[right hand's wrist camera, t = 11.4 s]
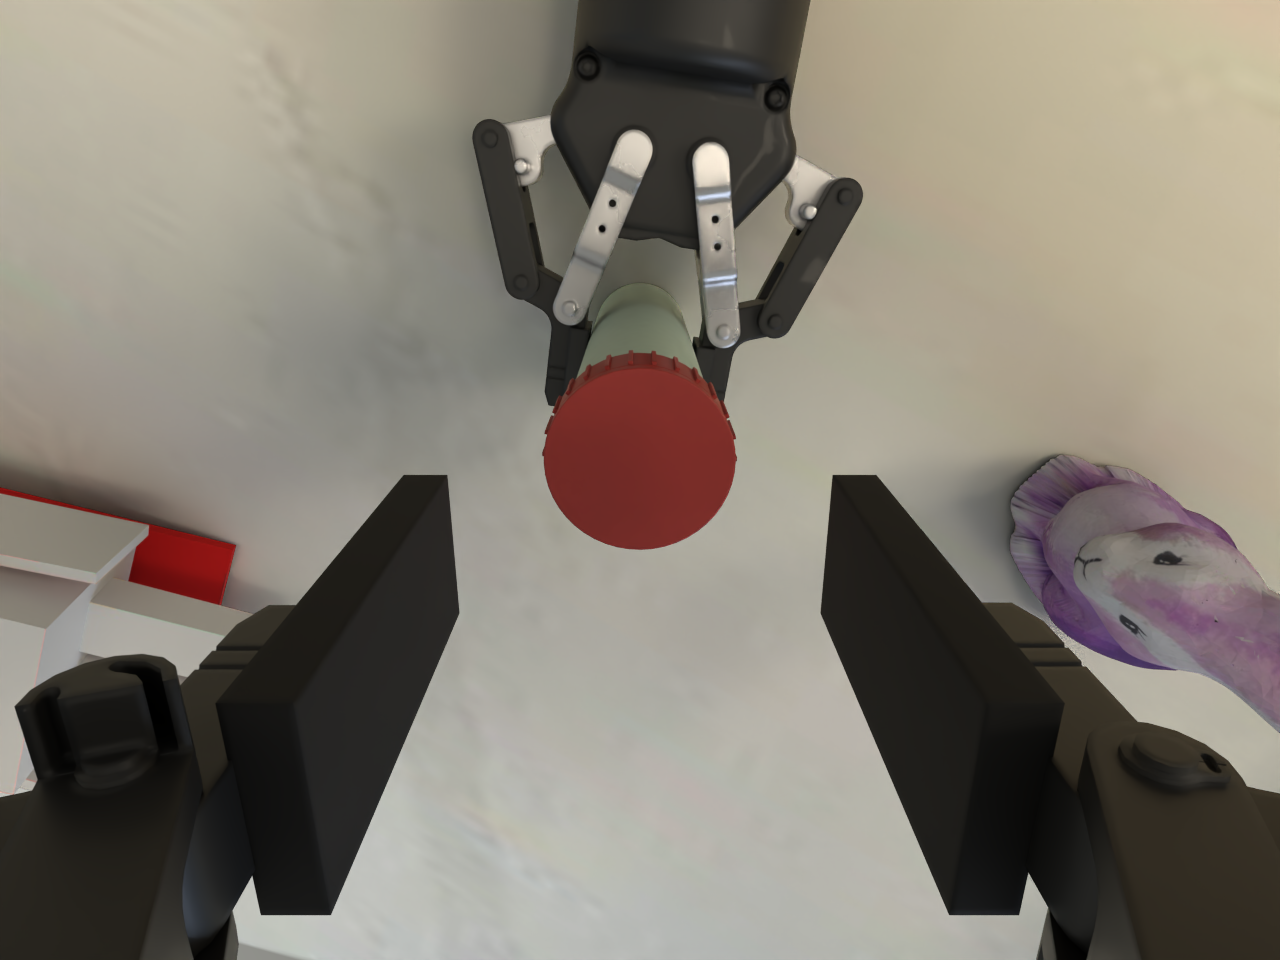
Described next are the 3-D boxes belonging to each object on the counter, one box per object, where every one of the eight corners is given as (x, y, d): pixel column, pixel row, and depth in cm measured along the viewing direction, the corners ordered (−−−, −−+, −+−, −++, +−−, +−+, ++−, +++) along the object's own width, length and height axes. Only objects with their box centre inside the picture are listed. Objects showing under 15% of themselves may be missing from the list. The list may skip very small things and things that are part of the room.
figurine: (984, 451, 38) (1184, 603, 24) (1199, 440, 38) (1524, 586, 24) (967, 622, 42) (1135, 844, 28) (1165, 613, 42) (1435, 831, 27)
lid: (672, 551, 21) (675, 584, 20) (517, 471, 21) (506, 498, 19) (765, 405, 20) (777, 426, 18) (602, 314, 19) (598, 327, 17)
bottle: (656, 385, 38) (670, 560, 20) (580, 344, 37) (526, 487, 19) (699, 310, 36) (756, 425, 19) (622, 266, 36) (605, 341, 18)
